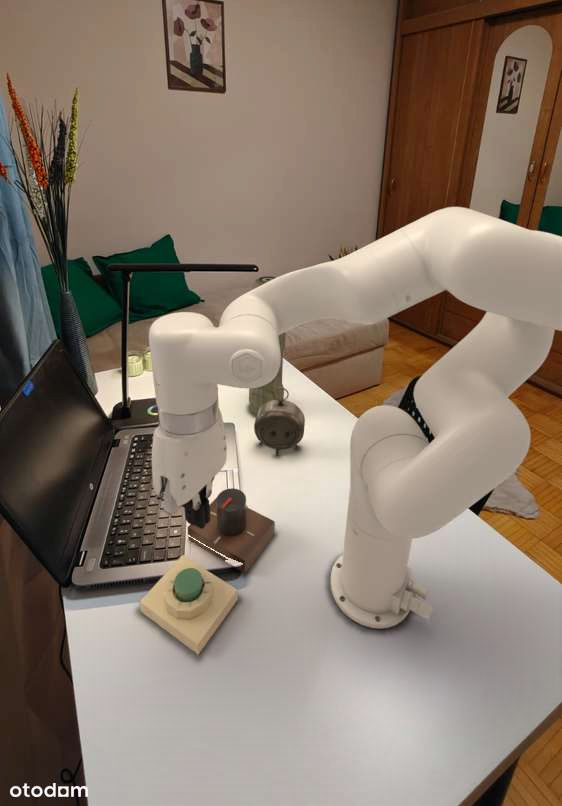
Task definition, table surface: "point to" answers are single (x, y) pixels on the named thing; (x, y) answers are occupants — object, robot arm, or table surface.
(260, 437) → the alarm clock
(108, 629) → the table surface
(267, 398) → the thermos
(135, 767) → the table surface
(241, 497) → the knob
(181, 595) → the green push button
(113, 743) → the table surface
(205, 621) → the push button housing
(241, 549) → the panel
